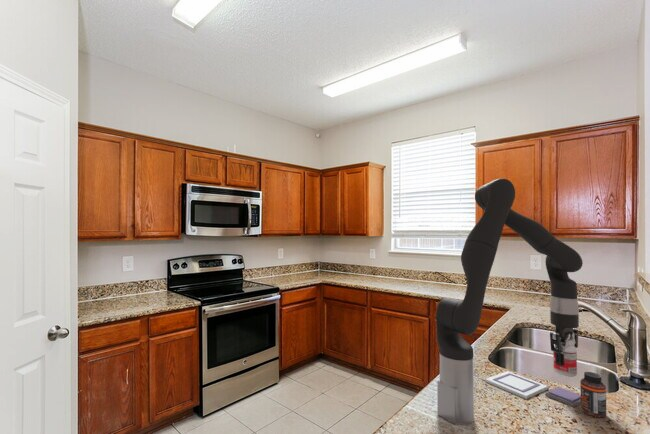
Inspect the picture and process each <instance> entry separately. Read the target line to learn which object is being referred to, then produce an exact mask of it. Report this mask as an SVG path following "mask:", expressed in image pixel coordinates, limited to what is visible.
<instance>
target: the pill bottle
mask: <svg viewBox="0 0 650 434" xmlns="http://www.w3.org/2000/svg"><path fill="white" fill-rule="evenodd" d="M561 343H562V344H563V342H561ZM573 345H574V341H573V340H572V339H569V341H568V345H567V348H565V351H564V366H560V365H557V364H556V363H555V352H554V351H552V352H553V354H552V357H553V371H554V373H557V374H558V375H560V376H564V377H569V378H570V377H572V378H573V377H577V376H578V362H577V361H578V360H577V359H578V354H577V348H575V347H573ZM554 346H555V344H554ZM561 348H562V347H561Z"/></svg>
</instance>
